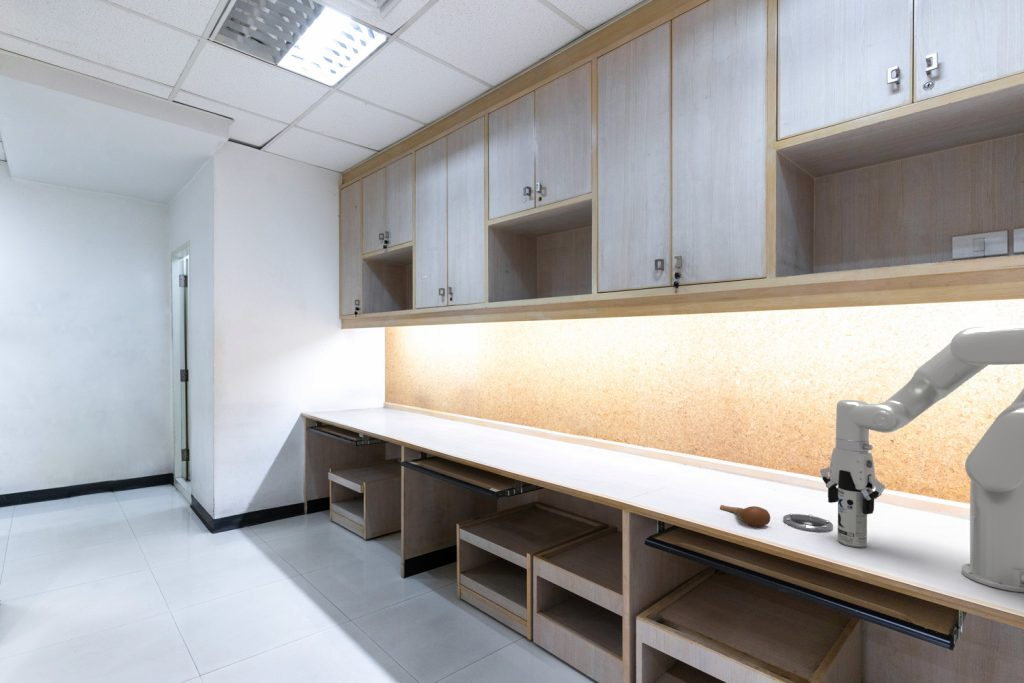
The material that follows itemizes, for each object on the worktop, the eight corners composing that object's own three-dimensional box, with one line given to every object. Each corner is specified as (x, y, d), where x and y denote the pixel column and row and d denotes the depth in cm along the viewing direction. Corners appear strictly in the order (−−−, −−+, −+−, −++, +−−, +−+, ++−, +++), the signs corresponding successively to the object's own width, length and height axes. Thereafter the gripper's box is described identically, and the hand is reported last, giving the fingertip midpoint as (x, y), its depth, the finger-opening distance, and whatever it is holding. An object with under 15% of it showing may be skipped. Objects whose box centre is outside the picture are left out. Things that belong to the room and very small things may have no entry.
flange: (843, 529, 150) (843, 524, 150) (812, 534, 145) (812, 529, 145) (803, 515, 162) (803, 510, 162) (773, 520, 157) (773, 515, 157)
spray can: (835, 537, 143) (835, 466, 143) (863, 541, 140) (863, 468, 141) (840, 546, 137) (840, 471, 137) (870, 549, 134) (870, 474, 134)
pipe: (726, 508, 168) (726, 490, 168) (772, 528, 150) (773, 508, 150) (708, 511, 166) (708, 492, 166) (752, 531, 148) (752, 510, 148)
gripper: (894, 451, 132) (892, 517, 132) (831, 438, 148) (829, 497, 148) (875, 453, 129) (873, 520, 130) (813, 440, 146) (811, 499, 146)
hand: (849, 507), depth 139 cm, fingers open, 9 cm apart
